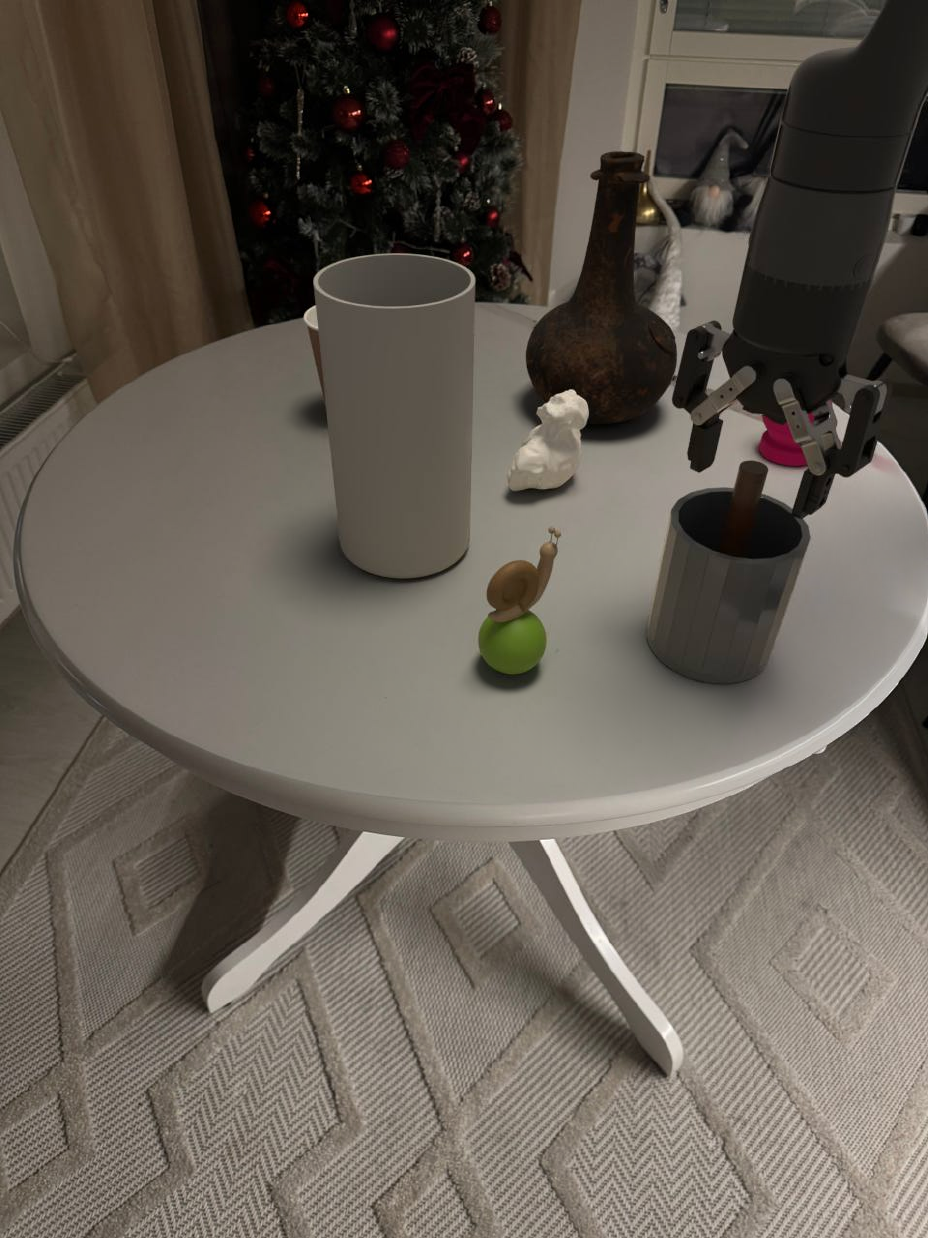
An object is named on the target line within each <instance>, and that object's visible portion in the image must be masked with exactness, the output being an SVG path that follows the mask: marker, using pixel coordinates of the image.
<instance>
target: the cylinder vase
mask: <svg viewBox="0 0 928 1238" xmlns="http://www.w3.org/2000/svg"><path fill="white" fill-rule="evenodd" d="M313 290H314V291H313V293H314V301H315V305H316V312H317V322H318V332H319V342H320V352H321V361H322V371H323V381H324V391H325V401H326V406H325V410H326V411H325V412H326V419H327V428H328V429H327V430H328V439H329V449H330V451H329V452H330V460H331V470H332V478H333V489H334V499H335V508H336V518H337V519H336V521H337V526H338V527H337V529H338V538H339V545H340V549H341V551H342V553H343V554H344V555H345V557H346V558H347V560H349V561H350V563H352V564H353V565H355V567H357V568H359V569H361V570H363V571H364V572H367V573H368V574H369V573H370V574H372V575H375V576H378V577H382V578H383V577H384V578H390V579H415V578H422V577H427V576H430V575H434V574H437V573H439V572H442V571H444V570H446V569H448V568H449V567H451V566H453V565H454V564H455V563H456V562H458V561H459V560H460V559H461V558H462V557H463V556H464V554H465V553H466V551H467V550H468V548H469V544H470V539H471V509H472V507H471V505H472V504H471V503H472V501H471V500H472V464H473V463H472V461H473V460H472V459H473V458H472V457H473V414H474V411H473V409H474V408H473V407H474V406H473V405H474V365H475V364H474V361H475V358H474V357H475V311H476V310H475V309H476V307H475V306H476V277H475V274H474V273H473V272H472V271H471V270H470V269H469V268H467V267H466V266H464V265H462V264H460V263H458V262H455V261H453V260H449V259H447V258H441V257H439V256H432V255H425V254H416V253H378V254H377V253H376V254H368V255H366V254H365V255H361V256H360V255H359V256H355V257H349V258H345V259H342V260H339V261H336V262H334V263H331V264H329V265H326V266H325V267H323V268H322V269H320V270H319V271H318V272H317V273H316V274H315V276H314V277H313Z"/></svg>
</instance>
